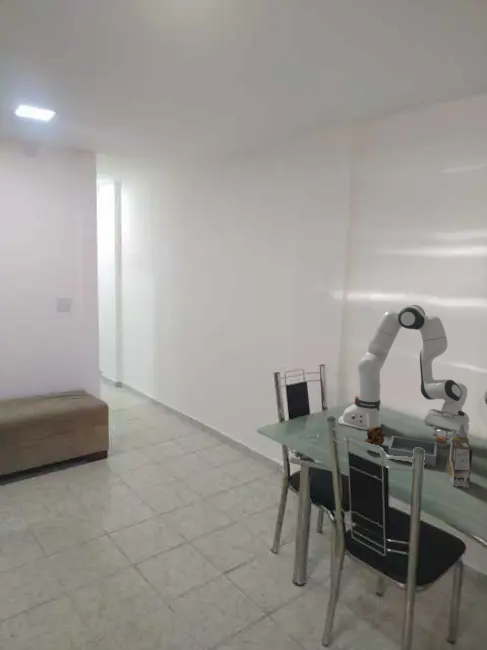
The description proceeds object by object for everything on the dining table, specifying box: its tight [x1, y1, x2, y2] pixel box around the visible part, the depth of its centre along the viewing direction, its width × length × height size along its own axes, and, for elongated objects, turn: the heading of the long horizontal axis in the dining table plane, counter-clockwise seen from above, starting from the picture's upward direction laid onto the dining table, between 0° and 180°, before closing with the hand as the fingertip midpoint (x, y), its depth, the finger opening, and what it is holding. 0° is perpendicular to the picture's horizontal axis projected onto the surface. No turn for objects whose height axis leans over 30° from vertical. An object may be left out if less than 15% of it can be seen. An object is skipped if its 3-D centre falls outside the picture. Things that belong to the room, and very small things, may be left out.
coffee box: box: [447, 439, 474, 488], centre depth 191 cm, size 9×6×16 cm
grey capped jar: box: [435, 428, 449, 449], centre depth 227 cm, size 5×5×8 cm
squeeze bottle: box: [449, 424, 470, 456], centre depth 207 cm, size 8×8×18 cm
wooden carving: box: [363, 426, 387, 447], centre depth 223 cm, size 16×5×10 cm, turn 138°
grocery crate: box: [387, 435, 438, 468], centre depth 215 cm, size 20×16×5 cm
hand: (441, 437), depth 226 cm, fingers closed on grey capped jar, 5 cm apart
